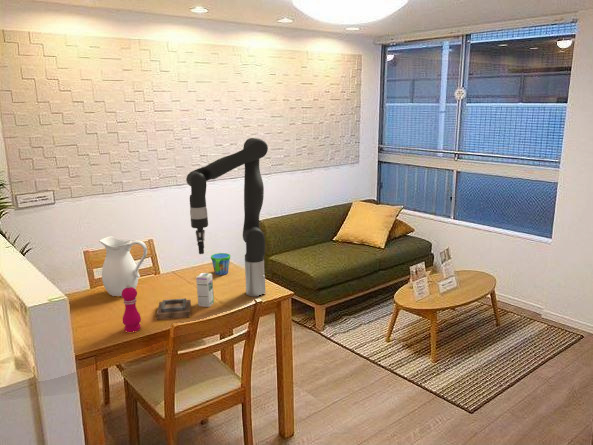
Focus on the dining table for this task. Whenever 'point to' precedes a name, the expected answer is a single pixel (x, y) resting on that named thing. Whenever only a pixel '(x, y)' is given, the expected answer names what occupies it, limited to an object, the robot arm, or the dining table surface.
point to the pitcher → (120, 265)
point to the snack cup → (220, 263)
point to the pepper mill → (130, 310)
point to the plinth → (174, 309)
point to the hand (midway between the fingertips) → (201, 251)
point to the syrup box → (205, 289)
